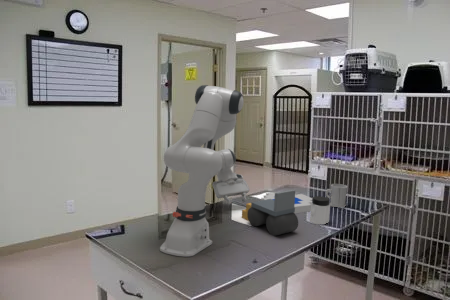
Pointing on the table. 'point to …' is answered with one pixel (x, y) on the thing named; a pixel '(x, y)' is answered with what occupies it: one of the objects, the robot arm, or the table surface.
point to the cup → (337, 195)
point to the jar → (320, 210)
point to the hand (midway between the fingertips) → (237, 202)
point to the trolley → (275, 213)
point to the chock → (246, 211)
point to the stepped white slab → (300, 204)
